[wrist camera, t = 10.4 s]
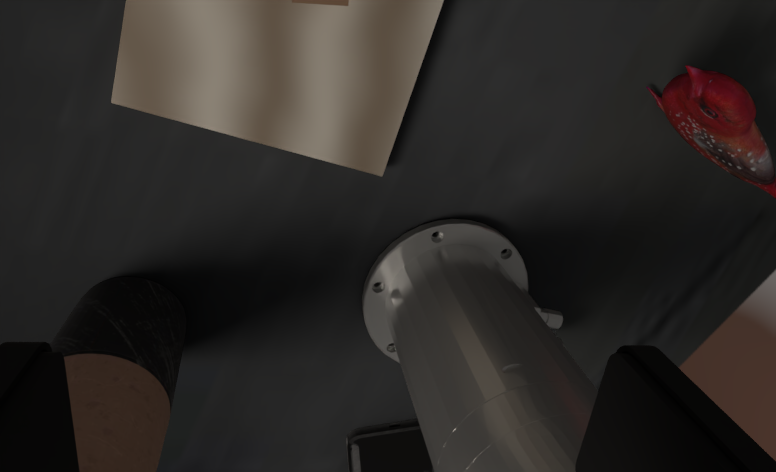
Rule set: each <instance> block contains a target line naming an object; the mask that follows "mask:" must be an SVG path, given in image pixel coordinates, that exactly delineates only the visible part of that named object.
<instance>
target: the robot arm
mask: <svg viewBox="0 0 776 472" xmlns="http://www.w3.org/2000/svg"><path fill="white" fill-rule="evenodd" d="M435 232H437V233H436V234H434V235H432V234H433V233H435ZM377 282H379V283H377ZM375 283H377V284H375ZM528 287H529V286H528V274H527V270H526V267H525V264H524V261H523V259H522V257H521V256H520V254H519V252H518V251H517V249H516V248H515V247H514V245H513V244H512V243H511V242H510V241H509V240H508V239H507V238H506V237H505V236H504V235H502V234H501V233H500V232H499V231H497V230H496V229H494V228H492V227H490V226H488V225H486V224H483V223H479V222H476V221H472V220H464V219H447V220H439V221H434V222H431V223H427V224H424V225H421V226H419V227H417V228H415V229H413V230H411V231H409V232H406V233H405V234H403V235H402V236H400V237H399V238H398V239H396V240H395V241H394V242H392V243H391V244H390V245H389V246H388V247H387V248H386V249H385V250H384V251H383V252H382V253H381V254H380V255H379V257H378V258H377V260H376V261H375V263H374V264H373V266H372V267H371V269H370V271H369V274H368V276H367V278H366V281H365V284H364V289H363V294H362V312H363V316H364V321H365V325H366V327H367V330H368V332H369V335H370V337H371V338H372V340H373V341H374V343H375V344H376V346H377V347H378V348H379V349H380V350H381V351H382V352H383V353H384V354H385V355H387V356H388V357H390V358H392V359H393V360H395V361H397V362H398V363H400V365H401V368H402V371H403V374H404V377H405V380H406V383H407V387H408V390H409V393H410V396H411V399H412V402H413V405H414V409H415V412H416V415H417V418H418V421H419V424H420V428H421V431H422V434H423V437H424V440H425V443H426V446H427V450H428V453H429V456H430V459H431V462H432V465H433V469H434V472H776V461H775V460H774V459H773V458H771V457H770V456H769V455H768V454H767V453H766V452H765V451H764V450H763V449H762V448H761V447H760V446H759V445H758V444H757V443H756V442H755V441H754V440H753V439H752V438H751V437H750V436H748V434H746V433H745V432H744V431H743V430H742V429H741V428H740V427H739V426H738V425H737V424H736V423H735V422H734V421H733V420H732V419H731V418H730V417H729V416H728V415H727V414H726V413H724V411H722V409H720V408H719V407H718V406H717V405H716V404H715V403H714V402H713V401H712V400H711V399H710V398H709V397H708V396H707V395H706V394H705V393H704V392H703V391H702V390H701V389H700V388H699V387H698V386H697V385H695V384H694V383H693V382H692V381H691V380H690V379H689V378H688V377H687V376H686V375H685V374H684V373H683V372H682V371H681V370H680V369H679V368H678V367H677V366H676V365H675V364H674V363H673V362H672V361H671V360H669V359H668V358H667V357H666V356H665V355H664V354H663V353H662V352H661V351H660V350H659V349H658V348H656V347H654V346H622V347H620V348H619V349H618V350H617V352H616V353H615V354H612V355H611V356H610V357H609V360H608V362H607V365H606V369H605V372H604V375H603V378H602V381H601V384H600V388H599V391H598V390H597V389H596V387H595V386H594V385H593V384H592V382H591V381H590V380H589V378H588V377H587V376H586V374H585V373H584V372H583V371H582V369H581V368H580V367H579V365H578V364H577V363H576V361H575V360H574V359H573V358H572V356H571V355H570V354H569V352H568V351H567V350H566V348H565V347H564V344H563V342H562V340H561V339H560V338H558V337H556V335H555V334H554V333H553V332H552V330H551V329H559V328H560V327H561V325H562V322H563V315H562V313H561V312H559V311H556V310H551V309H546V308H544V309H542V308H539V306H538V305H537V304H536V302H535V301H534V300H533V299H532V297H531V296H530V295H529V294H528ZM550 328H551V329H550ZM0 472H80V471H79V463H78V456H77V449H76V441H75V434H74V426H73V419H72V412H71V404H70V397H69V389H68V382H67V375H66V367H65V360H64V356H63V354H62V353H61V352H52V348H51V346H50V345H49V344H48V343H46V342H5V343H2V344H1V345H0Z"/></svg>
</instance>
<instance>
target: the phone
mask: <svg viewBox="0 0 776 472" xmlns="http://www.w3.org/2000/svg"><path fill="white" fill-rule="evenodd" d="M416 421H417V422H416ZM399 424H400V426H397V427H390V428H389V426H393V425H399ZM346 444H347V456H348V468H349V472H434V469H433V465H432V462H431V459H430V456H429V453H428V450H427V446H426V443H425V440H424V437H423V434H422V431H421V428H420V424H419V421H418V419H414V420H407V421H401V422H395V423H388V424H382V425H376V426H369V427H363V428H358V429H355V430H353V431H351V432H350V433H349V434H348V436H347V438H346Z"/></svg>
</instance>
